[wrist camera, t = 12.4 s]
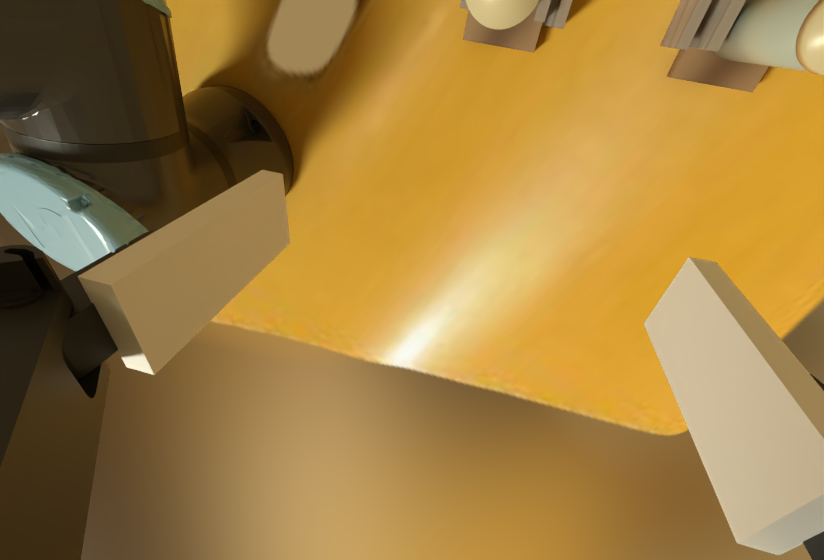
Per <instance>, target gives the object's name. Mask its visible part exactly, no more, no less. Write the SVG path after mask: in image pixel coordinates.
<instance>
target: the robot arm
mask: <svg viewBox="0 0 824 560" xmlns="http://www.w3.org/2000/svg"><path fill="white" fill-rule="evenodd" d="M170 18H172V16H171V11H170V9H169V8H168V7H167V5H166V0H0V124H1V126H2V128H3V131H4V133H5V135H6V137H7V139H8V141H9V144H10V146H11V148H12V151H13V152H12V154H10V153H3V154H0V212H1V214H2V215H3V216H4V217H5V218H6V219H7V221H8V222H9V223H10V224H11V225H12V226H13V227H14V228H15V229H16V230H17V231H18V232H19V233H21V235H23V236H24V237H25V238H26V239H27V240H29V241H30V242H31V243H32V244H33V245H34V246H36V247H33V246H27V245H11V246H3V247H0V560H81V554H82V547H83V541H84V534H85V528H86V521H87V515H88V509H89V503H90V496H91V490H92V483H93V477H94V471H95V464H96V457H97V451H98V444H99V438H100V432H101V425H102V419H103V412H104V407H105V400H106V394H107V387H108V381H109V375H110V368H109V364H108V362H107V361H106V359H107V358H109V357H110V356H111V355H112V354H114V353H115V352H116V351H117V350H118V352H119V354H120V356H121V358H122V360H123V361H124V363H125V365H126V367H128V368H132V369H135V370H139V371H142V372H146V373H149V374H152V375H155V374H156V373H157V372H158V371H159V370H160V369H161V368H162V367H163V366H164V365H165V364H166V363H167V362H168V361H169V360H170V359H171V358H172V357H173V356H174V355H175V354H176V353H177V352H178V351H179V350H180V349H182V347H183V346H185V345H186V344H187V343H188V342H189V341H190V340H191V339H192V338H193V337H194V336H195V335H196V334H197V333H198V332H199V331H200V330H201V329H202V328H203V327H204V326H205V325H206V324H207V323H208V322H209V321H210V320H211V319H212V318H213V317H214V316H215V315H216V314H218V313H219V312H220V311H221V310H222V309H223V308H224V307H225V306H226V305H227V304H228V303H229V302H230V301H231V300H232V299H233V298H234V297H235V296H236V295H237V294H238V293H239V292H240V291H241V290H242V289H243V288H244V287H245V286H246V285H247V284H248V283H249V282H250V281H251V280H252V279H254V278H255V277H256V276H257V275H258V274H259V273H260V272H261V271H262V270H263V269H264V268H265V267H266V266H267V265H268V264H269V263H270V262H271V261H272V260H273V259H274V258H275V257H276V256H277V255H278V254H279V253H280V252H281V251H282V250H283V249H284V248H285V247H286V246H287V245H288V244H290V238H289V228H288V219H287V209H286V199H285V195H286V194H287V192H288V190H289V188H290V186H291V182H292V178H293V160H292V155H291V151H290V147H289V144H288V142H287V139H286V137H285V135H284V133H283V131H282V129H281V127H280V126H279V124H278V123H277V121H276V120H275V119H274V117H273V116H272V115H271V114H270V112H269V111H268V110H267V109H266V108H265V107H264V106H263V105H262V104H260V103H259V102H258V101H257V100H255V99H254V98H253V97H251V96H250V95H248V94H246V93H244V92H242V91H240V90H238V89H235V88H232V87H227V86H211V87H206V88H201V89H197V90H194V91H192V92H190V93H188V94H186V95H185V96H184V97H182V92H181V86H180V80H179V73H178V67H177V61H176V55H175V49H174V42H173V36H172V30H171V24H170ZM43 252H44V253H45V254H47V255H48V256H50V257H51V258H53V259H54V260H56V261H57V262H59V263H61V264H63V265H65V266H66V267H68V268H70V269H72V270H74V271H76V272H75V273H73V274H71V275H69V276H68V277H66V278H64V279H62V280H61V281H60V280H59V278H58V277H57V275H56V273H55V272H54V270H53V268H52V266H51V265H50V263H49V262H48V260H47V258H46V256H45V254H44V253H43ZM644 325H645V328H646V330H647V332H648V335H649V337H650V339H651V342H652V344H653V346H654V349H655V351H656V354H657V356H658V358H659V361H660V363H661V365H662V368H663V370H664V372H665V375H666V377H667V379H668V382H669V384H670V387H671V389H672V391H673V394H674V396H675V398H676V401H677V403H678V405H679V408H680V410H681V412H682V415H683V417H684V420H685V422H686V424H687V427H688V429H689V431H690V434H691V436H692V438H693V440H694V443H695V445H696V448H697V450H698V452H699V455H700V457H701V459H702V462H703V464H704V467H705V469H706V471H707V474H708V476H709V478H710V481H711V483H712V485H713V488H714V490H715V493H716V495H717V497H718V500H719V502H720V504H721V507H722V509H723V511H724V514H725V516H726V518H727V521H728V523H729V525H730V528H731V530H732V532H733V535H734V537H735V540H736V542H737V543H738V544H742V545H745V546H748V547H752V548H755V549H759V550H762V551H766V552H769V553H773V554H776V555H780V554H783V553H785V552H787V551H789V550H791V549H793V548H795V547H797V546H799V545H801V544H803V543H804V545H805V547H806V549H807V551H808V553H809V554H810V556H811V558H812V560H824V384H823V383H821V382H820V381H819V380H817V379H816V378H815V377H814V376H813V375H811V374H809V373H808V371H806V369H805V368H804V367H803V366H802V364H801V363H800V362H799V361H798V360H797V358H796V357H795V356H794V355H793V354H792V352H791V351H790V350H789V349H788V348H787V346H786V345H785V344H784V343H783V342H782V340H781V339H780V338H779V337H778V336H777V334H776V333H775V332H774V331H773V330H772V328H771V327H770V326H769V325H768V324H767V322H766V321H765V320H764V319H763V318H762V316H761V315H760V314H759V313H758V312H757V310H756V309H755V308H754V307H753V306H752V305H751V303H750V302H749V301H748V300H747V299H746V297H745V296H744V295H743V294H742V293H741V291H740V290H739V289H738V288H737V287H736V285H735V284H734V283H733V282H732V281H731V279H730V278H729V277H728V276H727V275H726V273H725V272H724V271H723V270H722V269H721V267H720V266H719V265H718V264H717V263H716V262H711V261H707V260H702V259H697V258H692V257H689V258H688V259H687V261H686V262H685V264H684V265H683V267H682V268H681V270H680V271H679V273H678V274H677V275H676V277H675V278H674V280H673V281H672V283H671V284H670V286H669V287H668V289H667V290H666V292H665V293H664V295H663V296H662V298H661V299H660V301H659V302H658V304H657V305H656V307H655V308H654V310H653V311H652V312H651V314H650V315H649V317H648V318H647V320H646V321H645V323H644Z"/></svg>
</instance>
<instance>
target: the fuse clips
mask: <svg viewBox="0 0 824 560" xmlns="http://www.w3.org/2000/svg"><path fill="white" fill-rule="evenodd" d="M572 1H573V0H539V2H538V4H537V5H536V7H535V8H534V10H533V11H532V12H531V13H530V15H529V16H527V17H526V18H525V19H524V20H523V21H522V22H520V23H519V24H517V25H515V26H513V27H510V28H507V29H500V30H499V29H491V28H488V27H485V26H484V25H482V24H480V23H479V22H478V21H477V20H476V19H475V18H474V17H473V15H472V14H471V12H470V10H469V9H468V6H467V3H466V0H461V3H460V8H464V9H468V10H469V11H468V16H467V21H466V27H465V32H464V37H463V40H467V41H473V42H478V43H484V44H489V45H495V46H500V47H506V48H511V49H517V50H522V51H528V52H533V53H534V50H535V47H536V44H537V40H538V37H539V33H540V30H541V26H542V25H543V26H549V27H555V28H561V29H564V26H565V23H566V20H567V16H568V13H569V10H570V7H571V4H572ZM745 1H746V0H681V2H680V4H679V6H678V9H677V11H676V13H675V15H674V17H673V19H672V21H671V24H670V26H669V28H668V30H667V32H666V34H665V37H664V39H663V41H662V43H661V45H660V46H665V47H671V48H677V49H680V51H679V53H678V55H677V57H676V59H675V61H674V63H673V65H672V67H671V69H670V71H669V73H668V75H667V76H668V77H671V78H676V79H682V80H687V81H693V82H698V83H704V84H709V85H715V86H720V87H726V88H731V89H737V90H742V91H748V92H753V91H754V89H755V88H756V86H757V85H758V83H759V82H760V80H761V78H762V77H763V75H764V74H765V72H766V70H767V69H768V67H769V66H767V65H759V64H752V63H744V62H737V61H729V60H724V59H721V58H719V57H717V56H716V55H715V54H714V53H713V51H717V52H718V51H719V49H720V47H721V45H722V43H723V41H724V40H725V38H726V36H727V34H728V32H729V30H730V29H731V27H732V25H733V23H734V21H735V20H736V18H737V16H738V14H739V12H740V10H741V9H742V7H743V5H744V3H745Z"/></svg>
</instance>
